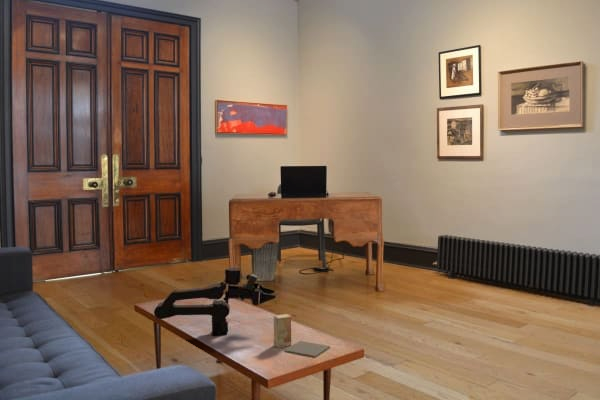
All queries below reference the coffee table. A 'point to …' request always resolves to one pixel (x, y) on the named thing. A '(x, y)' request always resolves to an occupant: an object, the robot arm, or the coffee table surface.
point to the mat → (307, 349)
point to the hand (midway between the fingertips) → (275, 294)
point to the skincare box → (282, 330)
